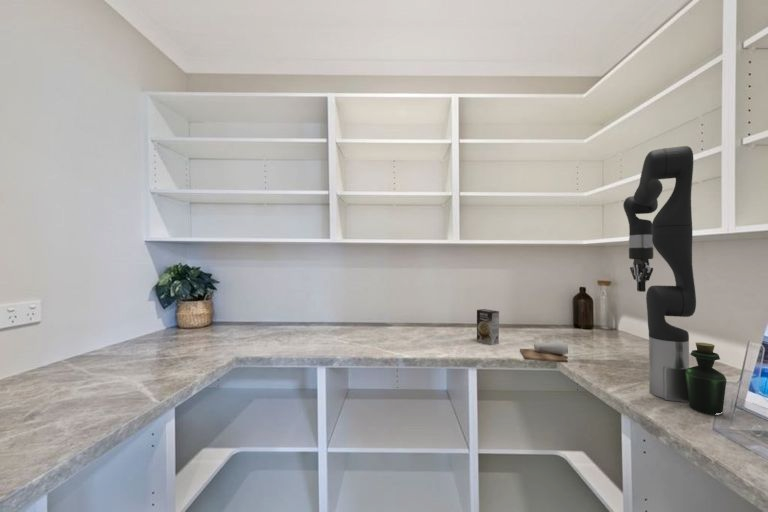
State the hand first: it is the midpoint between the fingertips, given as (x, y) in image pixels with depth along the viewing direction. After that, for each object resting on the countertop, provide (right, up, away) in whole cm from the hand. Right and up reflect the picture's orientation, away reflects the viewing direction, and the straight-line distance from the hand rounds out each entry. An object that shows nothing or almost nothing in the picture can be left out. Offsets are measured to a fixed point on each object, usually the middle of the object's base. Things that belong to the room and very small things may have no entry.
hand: (641, 291), depth 127 cm
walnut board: (-32, -29, +13) cm, 45 cm away
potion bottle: (-12, -29, -38) cm, 49 cm away
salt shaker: (-22, -25, +11) cm, 35 cm away
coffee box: (-48, -30, +36) cm, 67 cm away
